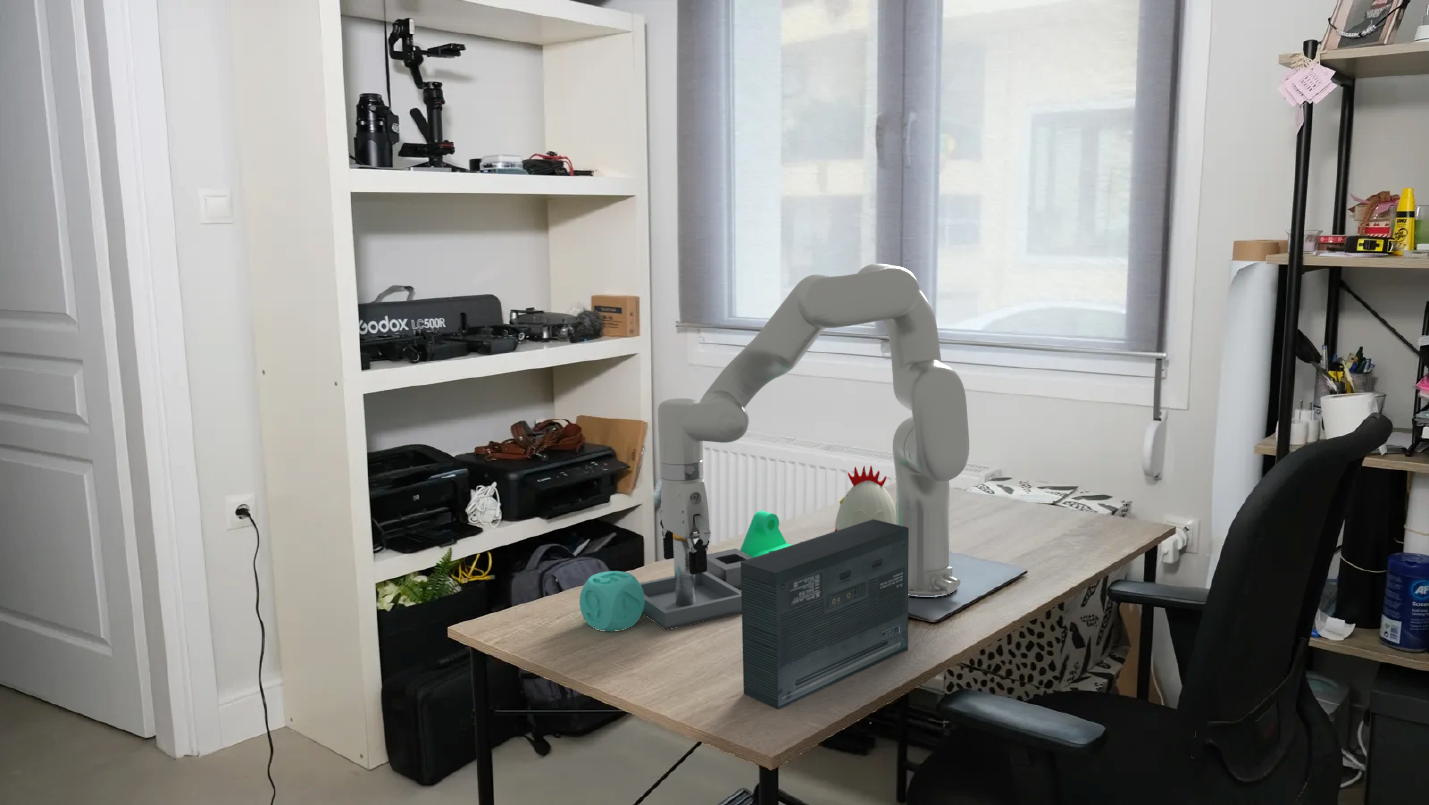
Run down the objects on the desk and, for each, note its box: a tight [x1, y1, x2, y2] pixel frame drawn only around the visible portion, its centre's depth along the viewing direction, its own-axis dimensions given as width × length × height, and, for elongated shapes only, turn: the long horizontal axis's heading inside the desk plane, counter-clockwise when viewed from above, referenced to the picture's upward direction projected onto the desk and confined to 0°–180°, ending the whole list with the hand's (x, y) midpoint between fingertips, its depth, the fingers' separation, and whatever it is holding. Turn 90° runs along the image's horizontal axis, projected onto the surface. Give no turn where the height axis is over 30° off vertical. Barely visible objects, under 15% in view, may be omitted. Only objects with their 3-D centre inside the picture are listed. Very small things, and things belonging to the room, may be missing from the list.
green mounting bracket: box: [739, 510, 792, 557], centre depth 211 cm, size 12×8×10 cm, turn 132°
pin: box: [673, 532, 696, 607], centre depth 188 cm, size 4×4×13 cm
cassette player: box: [740, 519, 909, 710], centre depth 160 cm, size 29×7×20 cm, turn 132°
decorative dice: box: [579, 570, 645, 632], centre depth 182 cm, size 8×8×8 cm
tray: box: [639, 572, 742, 631], centre depth 189 cm, size 16×16×3 cm
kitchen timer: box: [834, 465, 896, 532], centre depth 228 cm, size 14×14×15 cm
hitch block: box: [706, 548, 754, 589], centre depth 203 cm, size 10×8×4 cm
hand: (685, 565), depth 188 cm, fingers open, 9 cm apart
